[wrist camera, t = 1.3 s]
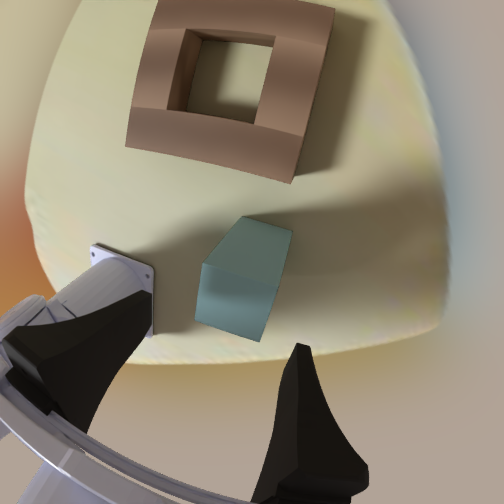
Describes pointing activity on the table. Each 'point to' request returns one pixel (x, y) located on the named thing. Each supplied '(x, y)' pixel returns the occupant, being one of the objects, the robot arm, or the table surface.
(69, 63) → the table surface
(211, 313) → the bracket post
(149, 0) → the table surface
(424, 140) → the table surface
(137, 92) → the well block
